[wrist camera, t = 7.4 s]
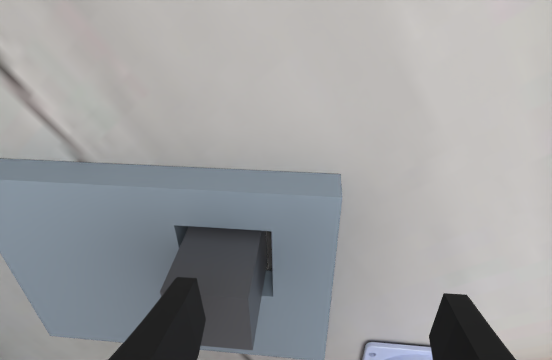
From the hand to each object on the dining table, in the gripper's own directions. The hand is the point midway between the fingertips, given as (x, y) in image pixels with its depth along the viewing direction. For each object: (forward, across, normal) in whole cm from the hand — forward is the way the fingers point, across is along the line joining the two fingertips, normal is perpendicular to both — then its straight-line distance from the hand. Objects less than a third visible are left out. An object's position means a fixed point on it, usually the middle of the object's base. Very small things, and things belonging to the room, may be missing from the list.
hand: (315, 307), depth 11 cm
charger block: (+9, +5, +6) cm, 12 cm away
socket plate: (+9, +9, +8) cm, 15 cm away
